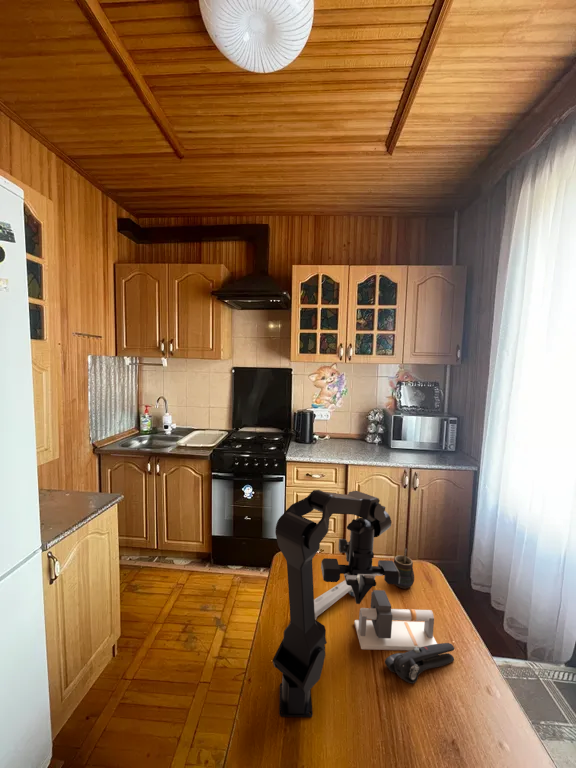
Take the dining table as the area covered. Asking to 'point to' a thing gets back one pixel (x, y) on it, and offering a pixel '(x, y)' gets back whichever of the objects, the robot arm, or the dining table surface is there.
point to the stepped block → (382, 614)
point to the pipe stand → (397, 630)
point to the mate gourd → (404, 570)
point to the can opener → (419, 660)
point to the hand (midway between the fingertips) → (357, 602)
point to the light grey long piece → (332, 597)
